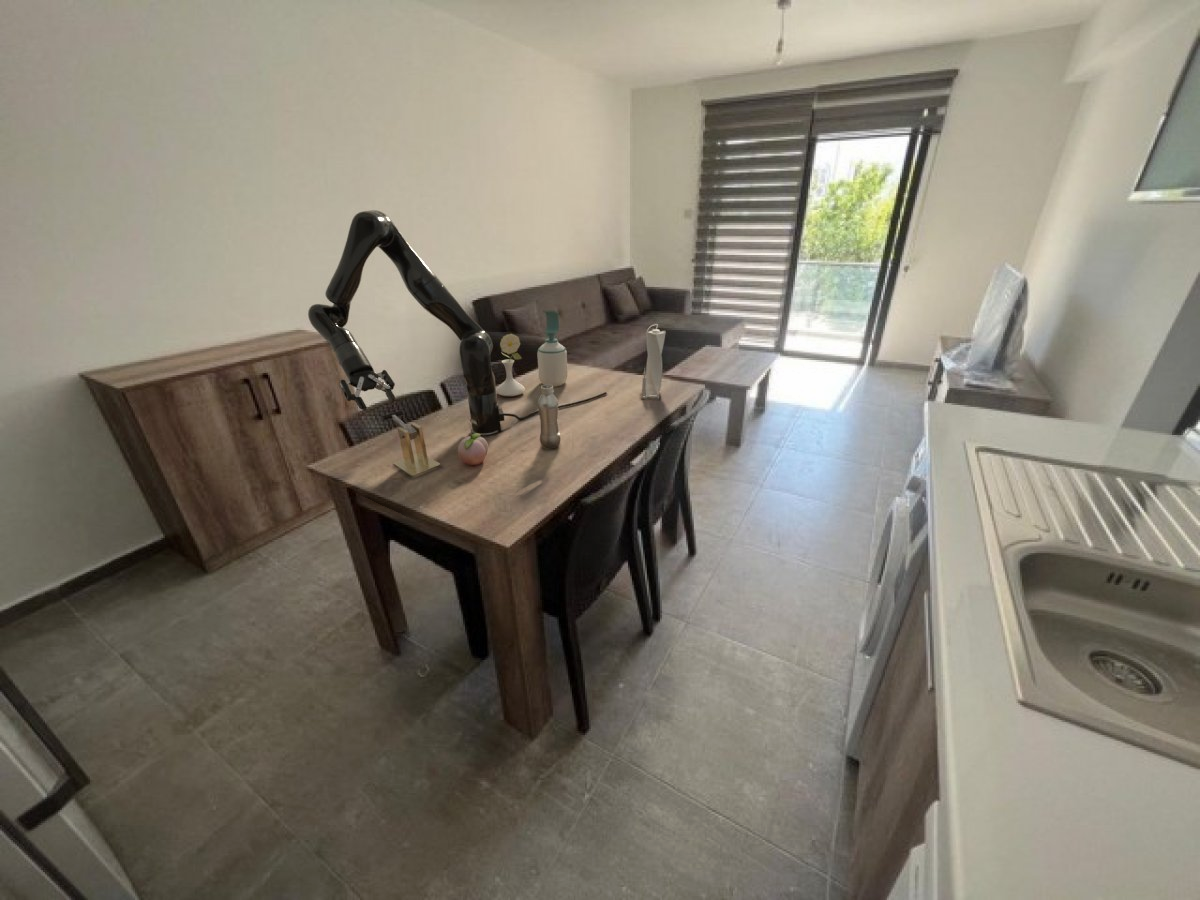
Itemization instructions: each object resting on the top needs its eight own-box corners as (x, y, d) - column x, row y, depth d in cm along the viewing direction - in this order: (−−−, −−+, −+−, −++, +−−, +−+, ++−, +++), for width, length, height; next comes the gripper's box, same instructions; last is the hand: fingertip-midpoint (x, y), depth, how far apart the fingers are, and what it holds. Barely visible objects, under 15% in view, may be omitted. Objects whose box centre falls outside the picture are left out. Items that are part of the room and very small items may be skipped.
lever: (381, 420, 138) (380, 413, 137) (400, 414, 142) (400, 408, 141) (403, 442, 133) (403, 435, 131) (423, 435, 137) (423, 429, 135)
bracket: (393, 466, 140) (384, 427, 134) (421, 456, 146) (414, 417, 140) (412, 479, 133) (404, 438, 128) (441, 467, 139) (434, 427, 134)
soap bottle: (535, 387, 202) (530, 312, 188) (543, 378, 213) (539, 306, 199) (564, 388, 200) (561, 312, 186) (570, 379, 211) (568, 307, 197)
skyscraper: (642, 392, 196) (645, 323, 184) (662, 392, 195) (666, 323, 183) (641, 399, 189) (643, 327, 176) (661, 400, 188) (666, 328, 175)
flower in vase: (490, 395, 194) (484, 333, 183) (510, 387, 202) (505, 328, 191) (514, 401, 187) (508, 338, 176) (533, 393, 196) (529, 332, 184)
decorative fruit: (465, 457, 145) (460, 427, 141) (492, 457, 145) (488, 427, 140) (456, 472, 137) (451, 441, 132) (484, 473, 136) (480, 441, 132)
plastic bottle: (564, 443, 153) (561, 384, 144) (555, 452, 148) (552, 391, 139) (545, 440, 155) (542, 381, 146) (536, 449, 150) (532, 389, 141)
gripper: (330, 359, 137) (357, 405, 136) (378, 349, 147) (404, 392, 145) (327, 373, 143) (353, 418, 141) (374, 362, 152) (399, 405, 151)
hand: (379, 405), depth 143 cm, fingers open, 8 cm apart
